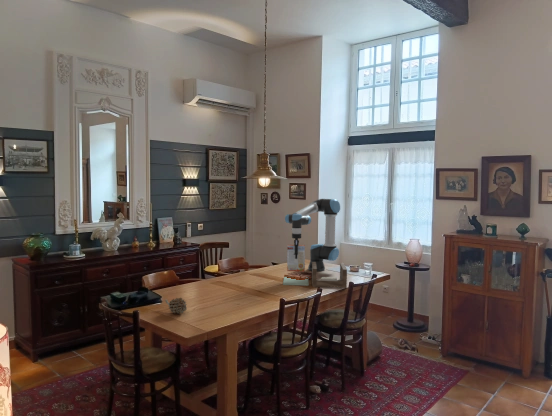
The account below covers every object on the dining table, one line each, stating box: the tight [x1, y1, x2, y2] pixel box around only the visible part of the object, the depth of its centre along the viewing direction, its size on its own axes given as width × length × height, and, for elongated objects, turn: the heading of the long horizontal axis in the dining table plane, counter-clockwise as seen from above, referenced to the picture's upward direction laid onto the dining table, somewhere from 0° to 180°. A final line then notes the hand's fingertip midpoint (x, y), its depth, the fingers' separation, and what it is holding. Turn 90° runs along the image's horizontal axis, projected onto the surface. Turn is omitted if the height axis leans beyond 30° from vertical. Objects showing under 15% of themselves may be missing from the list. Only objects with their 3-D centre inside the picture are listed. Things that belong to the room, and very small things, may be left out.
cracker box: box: [286, 244, 306, 273], centre depth 345 cm, size 14×6×21 cm, turn 84°
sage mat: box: [282, 276, 310, 287], centre depth 347 cm, size 24×20×1 cm
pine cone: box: [165, 297, 188, 314], centre depth 266 cm, size 22×10×10 cm, turn 49°
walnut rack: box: [311, 262, 348, 289], centre depth 343 cm, size 26×26×14 cm
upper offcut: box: [320, 276, 338, 280], centre depth 340 cm, size 6×12×2 cm, turn 79°
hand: (296, 261), depth 346 cm, fingers closed on cracker box, 6 cm apart
